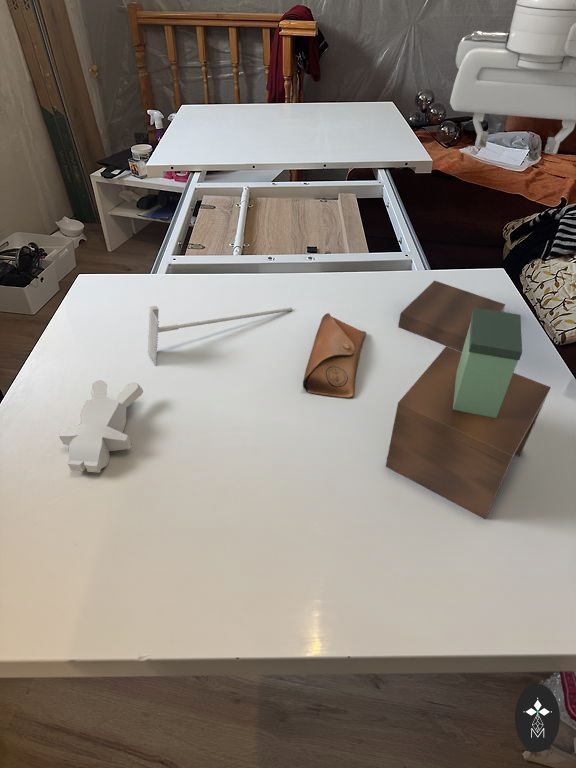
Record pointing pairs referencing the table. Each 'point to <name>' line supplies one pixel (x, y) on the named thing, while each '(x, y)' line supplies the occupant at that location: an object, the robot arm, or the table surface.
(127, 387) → the white musician cutout
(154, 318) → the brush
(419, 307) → the lower shelf
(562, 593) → the table surface
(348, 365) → the sunglasses case
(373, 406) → the table surface
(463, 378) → the green lidded box
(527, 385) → the upper shelf
